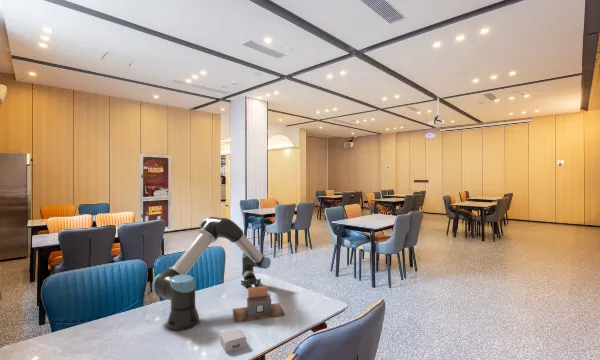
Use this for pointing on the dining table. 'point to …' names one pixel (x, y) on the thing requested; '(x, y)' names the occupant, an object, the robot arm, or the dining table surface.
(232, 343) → the charger
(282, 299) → the dining table surface
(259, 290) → the orange block
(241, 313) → the base board
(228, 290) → the dining table surface
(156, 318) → the dining table surface
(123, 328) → the dining table surface
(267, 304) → the socket
